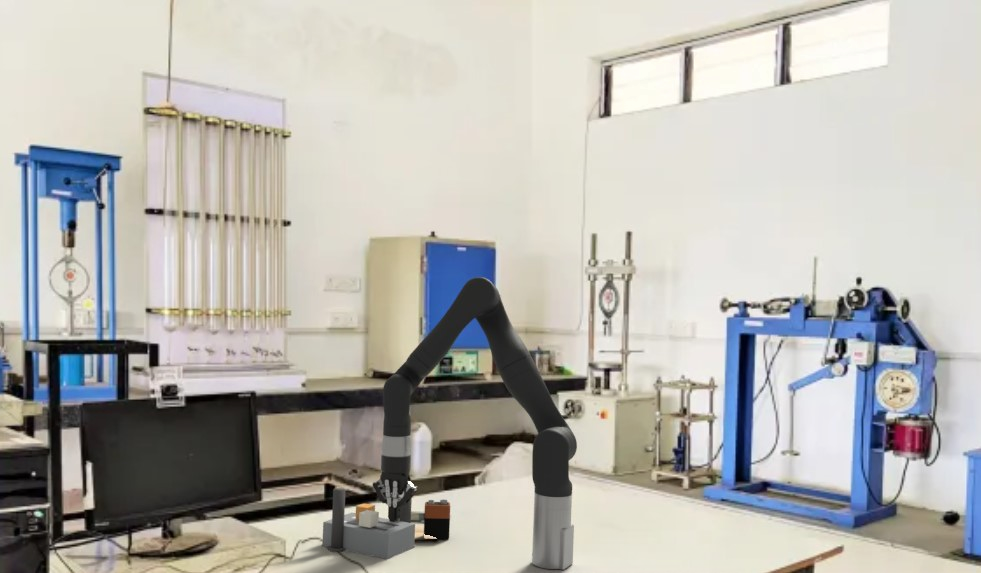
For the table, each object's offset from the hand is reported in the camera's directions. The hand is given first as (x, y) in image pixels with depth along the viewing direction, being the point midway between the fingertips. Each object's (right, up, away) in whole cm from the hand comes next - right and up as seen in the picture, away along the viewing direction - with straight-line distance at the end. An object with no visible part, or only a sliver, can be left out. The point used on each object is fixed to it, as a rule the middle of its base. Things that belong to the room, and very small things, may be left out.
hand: (394, 521), depth 213 cm
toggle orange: (-8, 0, +4) cm, 9 cm away
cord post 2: (+2, -7, +7) cm, 10 cm away
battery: (+10, -8, +11) cm, 17 cm away
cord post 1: (-14, -6, -3) cm, 16 cm away
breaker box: (-7, -7, +1) cm, 9 cm away
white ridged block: (-6, 0, -3) cm, 7 cm away
